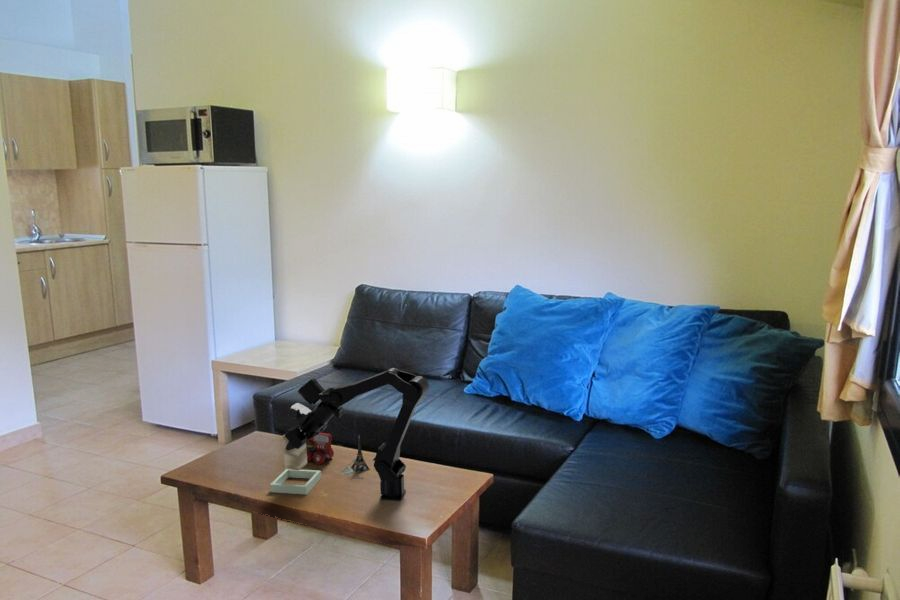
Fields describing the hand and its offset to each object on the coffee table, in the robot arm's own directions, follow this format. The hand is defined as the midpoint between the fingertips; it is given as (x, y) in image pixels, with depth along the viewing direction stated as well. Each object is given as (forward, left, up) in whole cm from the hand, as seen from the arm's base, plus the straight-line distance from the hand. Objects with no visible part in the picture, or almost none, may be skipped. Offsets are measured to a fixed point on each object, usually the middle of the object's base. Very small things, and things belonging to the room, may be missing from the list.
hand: (291, 446), depth 213 cm
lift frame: (-1, 0, -13) cm, 13 cm away
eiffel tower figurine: (-17, -16, -14) cm, 27 cm away
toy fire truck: (0, -21, -13) cm, 25 cm away
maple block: (-1, 0, -7) cm, 7 cm away
